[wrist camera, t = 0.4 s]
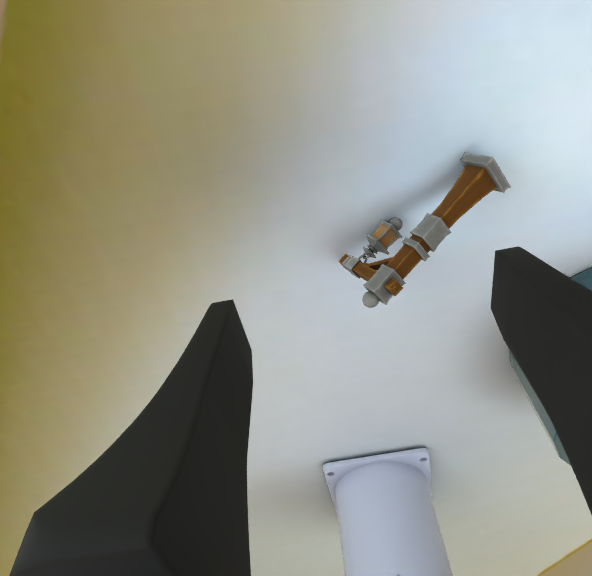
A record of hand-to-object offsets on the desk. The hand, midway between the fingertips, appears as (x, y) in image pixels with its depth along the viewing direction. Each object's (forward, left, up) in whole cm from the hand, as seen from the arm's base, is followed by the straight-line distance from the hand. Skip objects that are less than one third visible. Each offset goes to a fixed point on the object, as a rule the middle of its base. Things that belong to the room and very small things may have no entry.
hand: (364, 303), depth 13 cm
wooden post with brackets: (-4, -4, -10) cm, 11 cm away
